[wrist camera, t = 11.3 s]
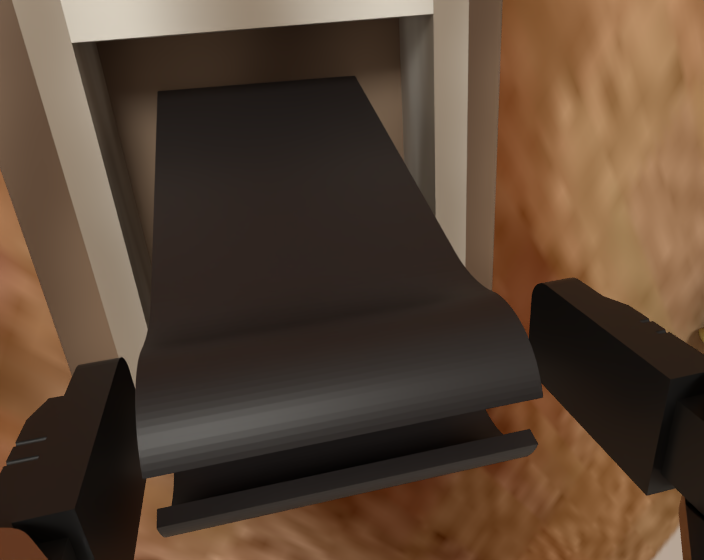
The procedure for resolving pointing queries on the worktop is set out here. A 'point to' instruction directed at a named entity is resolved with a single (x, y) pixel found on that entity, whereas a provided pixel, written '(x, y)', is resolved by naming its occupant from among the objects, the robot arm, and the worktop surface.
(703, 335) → the knob
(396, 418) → the phone stand
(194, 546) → the worktop surface
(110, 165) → the collar stand
